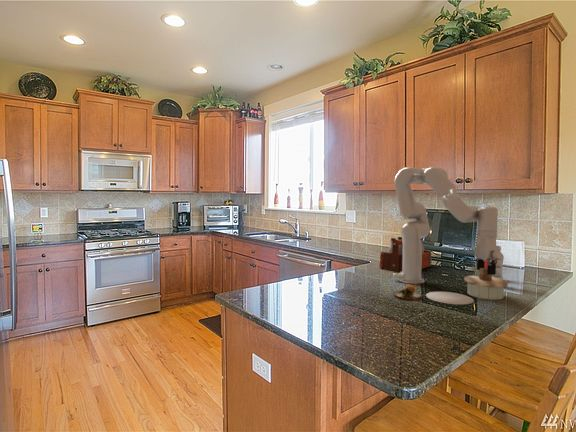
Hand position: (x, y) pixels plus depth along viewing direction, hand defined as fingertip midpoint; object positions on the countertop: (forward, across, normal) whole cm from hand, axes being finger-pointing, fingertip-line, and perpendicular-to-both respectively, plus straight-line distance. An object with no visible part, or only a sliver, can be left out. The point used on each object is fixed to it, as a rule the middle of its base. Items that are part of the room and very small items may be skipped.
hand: (485, 271), depth 155 cm
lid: (+5, 0, 0) cm, 5 cm away
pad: (+11, +6, -18) cm, 22 cm away
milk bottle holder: (+11, -61, -19) cm, 65 cm away
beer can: (+11, -34, +19) cm, 40 cm away
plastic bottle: (+11, -19, +14) cm, 26 cm away
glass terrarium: (+11, +6, -36) cm, 38 cm away
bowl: (+11, 0, 0) cm, 11 cm away
